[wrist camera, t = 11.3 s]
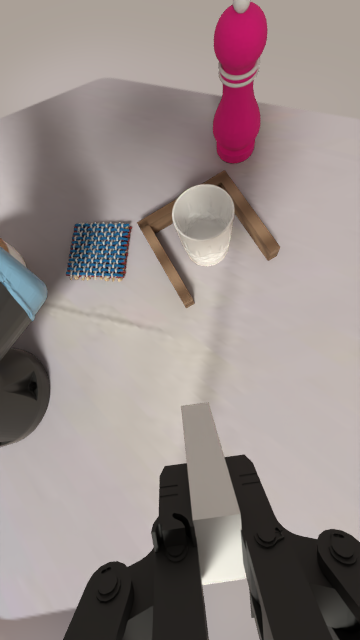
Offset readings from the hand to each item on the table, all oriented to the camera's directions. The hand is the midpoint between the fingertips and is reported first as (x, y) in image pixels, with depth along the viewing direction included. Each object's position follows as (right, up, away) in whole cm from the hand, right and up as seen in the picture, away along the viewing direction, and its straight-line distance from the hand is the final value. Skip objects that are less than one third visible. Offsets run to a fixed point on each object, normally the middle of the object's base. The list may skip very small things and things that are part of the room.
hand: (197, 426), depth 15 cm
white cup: (+3, +17, +30) cm, 35 cm away
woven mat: (-15, +17, +33) cm, 40 cm away
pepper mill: (+8, +35, +32) cm, 48 cm away
